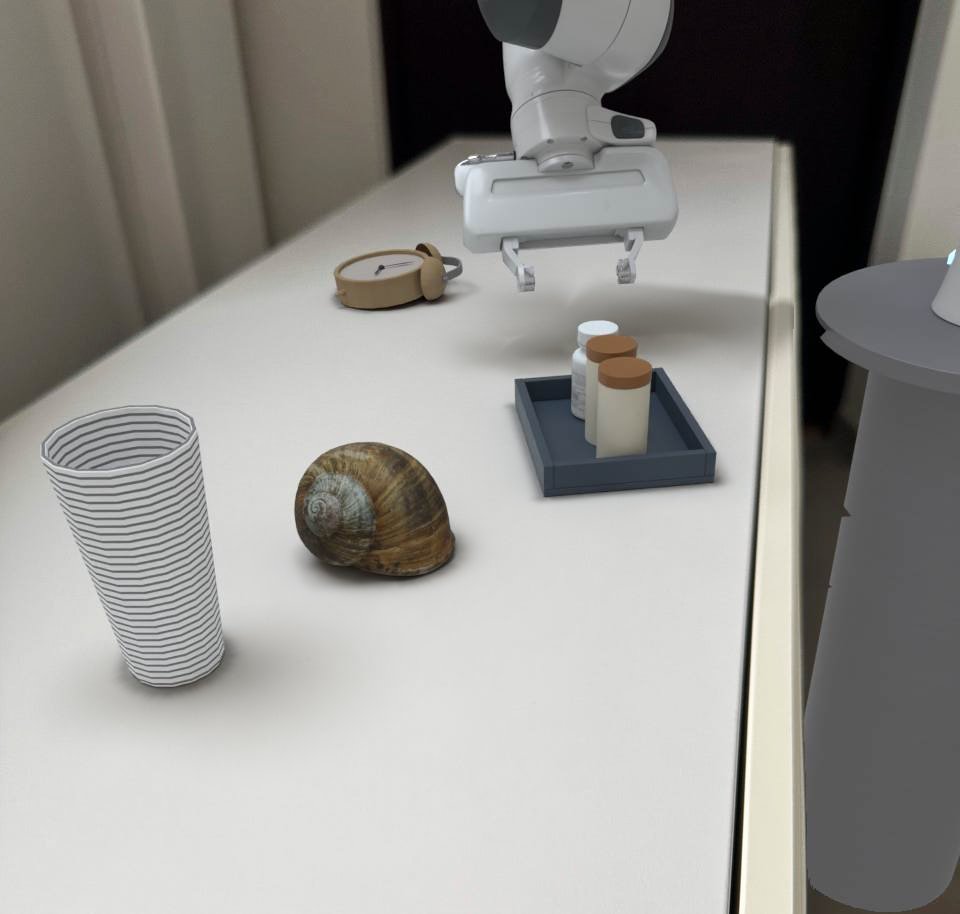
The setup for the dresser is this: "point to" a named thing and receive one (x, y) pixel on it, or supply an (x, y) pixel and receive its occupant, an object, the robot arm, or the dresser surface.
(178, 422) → the cup
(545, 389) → the tray
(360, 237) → the dresser surface
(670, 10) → the robot arm
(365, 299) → the alarm clock
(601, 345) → the matching bottles
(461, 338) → the dresser surface
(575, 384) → the pill bottle
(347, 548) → the seashell
